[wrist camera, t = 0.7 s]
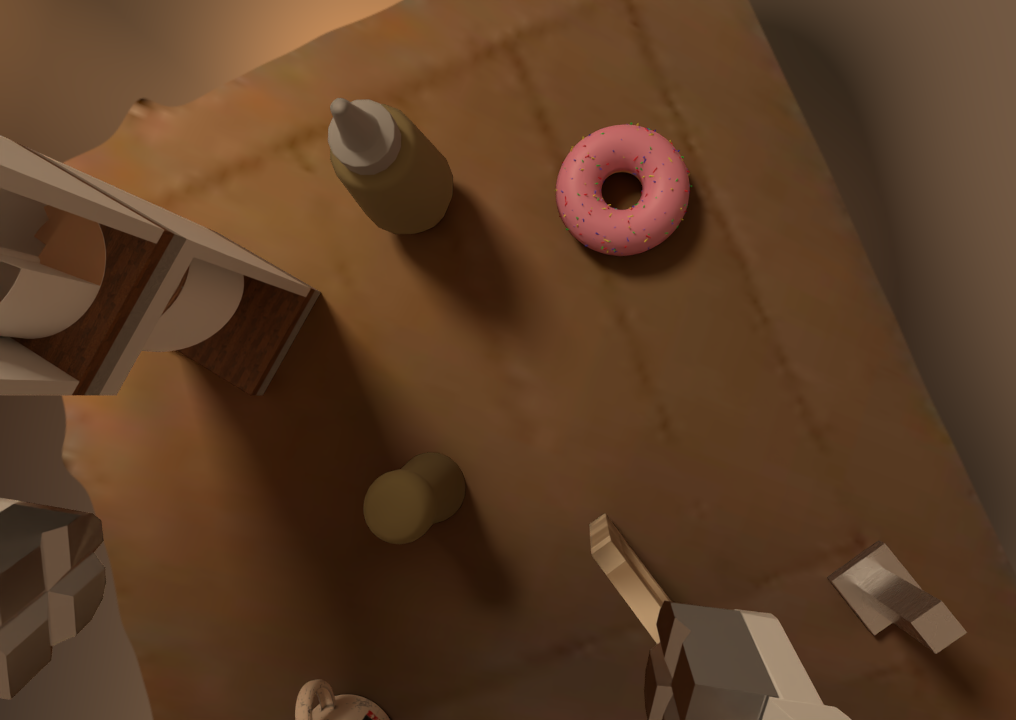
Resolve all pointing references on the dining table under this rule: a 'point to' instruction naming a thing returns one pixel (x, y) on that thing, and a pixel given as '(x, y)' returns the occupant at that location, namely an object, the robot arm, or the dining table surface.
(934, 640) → the stop post
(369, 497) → the cork
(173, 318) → the tiered white shelf
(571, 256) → the dining table surface
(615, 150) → the doughnut
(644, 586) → the wooden panel
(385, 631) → the dining table surface
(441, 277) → the dining table surface
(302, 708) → the teacup with lid
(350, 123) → the squeeze bottle
